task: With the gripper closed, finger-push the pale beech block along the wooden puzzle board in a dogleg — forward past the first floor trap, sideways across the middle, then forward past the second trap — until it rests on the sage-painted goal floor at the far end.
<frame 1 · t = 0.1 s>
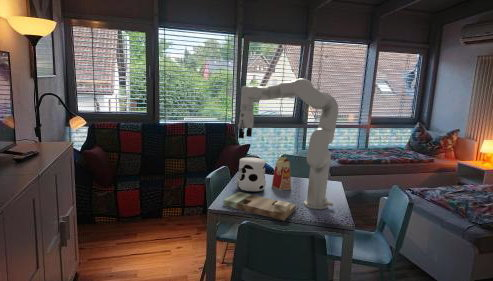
hand: (245, 137, 194), 31 cm above the table, fingers open, 9 cm apart
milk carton: (280, 187, 207), on the table
block: (281, 210, 160), point 3 cm above the table, touching wooden puzzle board
milk container: (250, 190, 198), on the table
wooden puzzle board: (259, 207, 170), on the table
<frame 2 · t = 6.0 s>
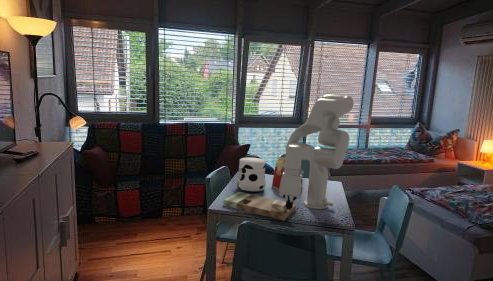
hand: (288, 208, 158), 5 cm above the table, fingers closed
block: (279, 209, 160), point 3 cm above the table, touching gripper
everything else where it was.
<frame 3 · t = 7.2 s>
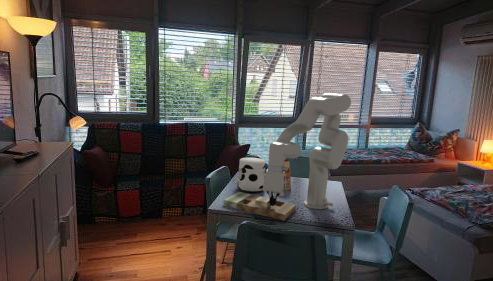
hand: (272, 205, 162), 5 cm above the table, fingers closed
block: (262, 206, 164), point 3 cm above the table
everything else where it was.
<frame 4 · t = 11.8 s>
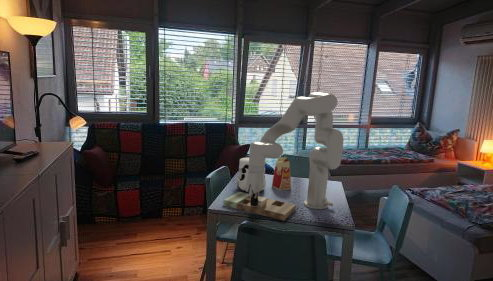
hand: (253, 205, 160), 4 cm above the table, fingers closed
block: (258, 205, 165), point 3 cm above the table, touching wooden puzzle board, gripper
everything else where it was.
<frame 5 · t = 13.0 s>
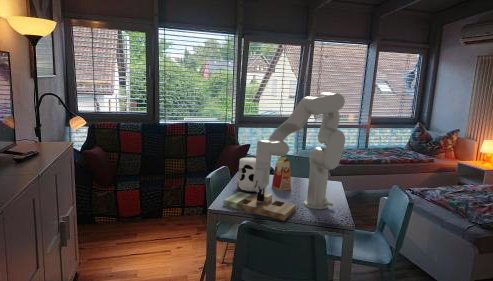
hand: (260, 200, 167), 4 cm above the table, fingers closed
block: (264, 200, 171), point 3 cm above the table, touching wooden puzzle board, gripper
everything else where it was.
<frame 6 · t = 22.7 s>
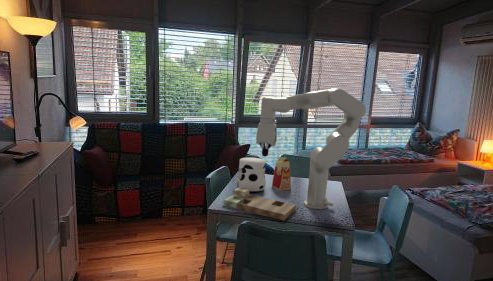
hand: (264, 156, 175), 25 cm above the table, fingers closed
block: (241, 195, 177), point 3 cm above the table, touching wooden puzzle board
everything else where it was.
at the end: block 1.4 cm from the target spot on the wooden puzzle board, point 3.0 cm above the wooden puzzle board's base; block tilted 0° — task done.
